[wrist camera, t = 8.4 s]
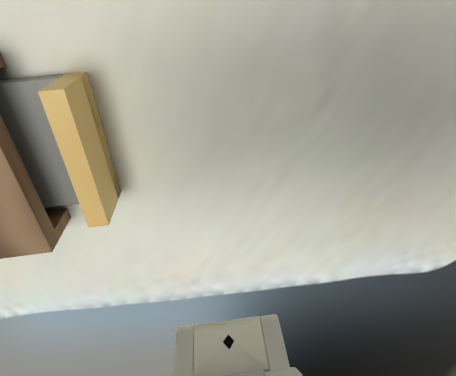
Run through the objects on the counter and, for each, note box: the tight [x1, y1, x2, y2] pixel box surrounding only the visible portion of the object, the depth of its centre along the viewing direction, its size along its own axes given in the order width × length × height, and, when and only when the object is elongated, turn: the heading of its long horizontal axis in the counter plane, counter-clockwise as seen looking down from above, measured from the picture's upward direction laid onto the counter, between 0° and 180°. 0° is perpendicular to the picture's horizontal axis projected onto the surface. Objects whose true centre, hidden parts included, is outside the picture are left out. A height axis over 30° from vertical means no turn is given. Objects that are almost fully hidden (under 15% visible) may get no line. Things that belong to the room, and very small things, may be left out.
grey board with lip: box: [0, 72, 121, 227], centre depth 24 cm, size 11×10×5 cm
